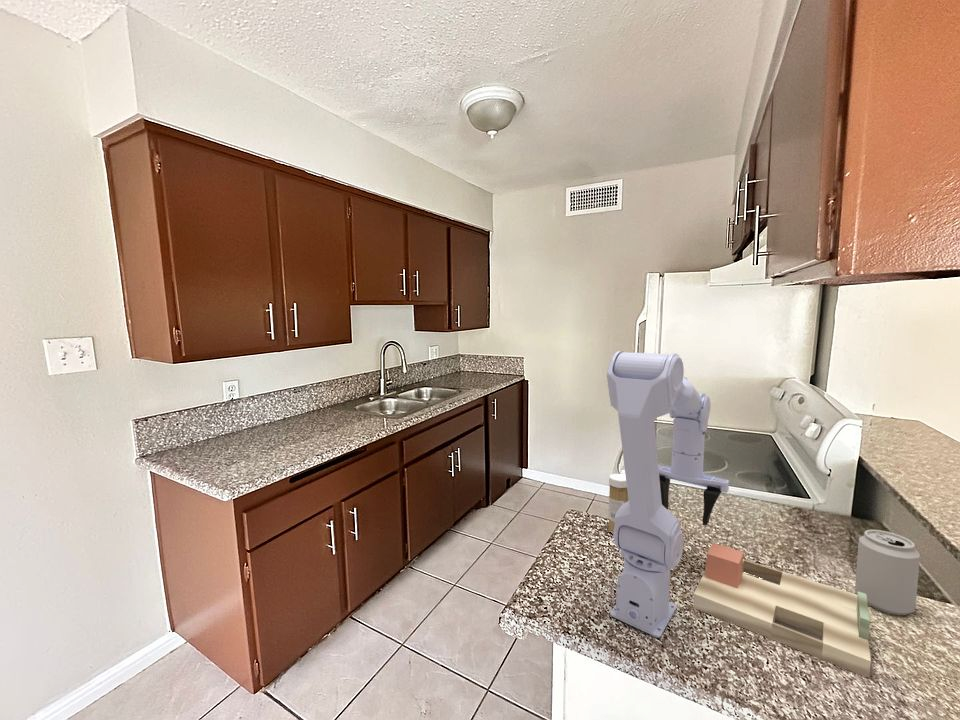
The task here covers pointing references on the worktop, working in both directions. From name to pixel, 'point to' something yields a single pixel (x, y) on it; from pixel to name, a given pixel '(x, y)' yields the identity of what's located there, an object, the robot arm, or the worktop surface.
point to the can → (887, 571)
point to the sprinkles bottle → (616, 497)
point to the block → (724, 565)
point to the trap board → (794, 614)
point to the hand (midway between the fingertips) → (684, 517)
